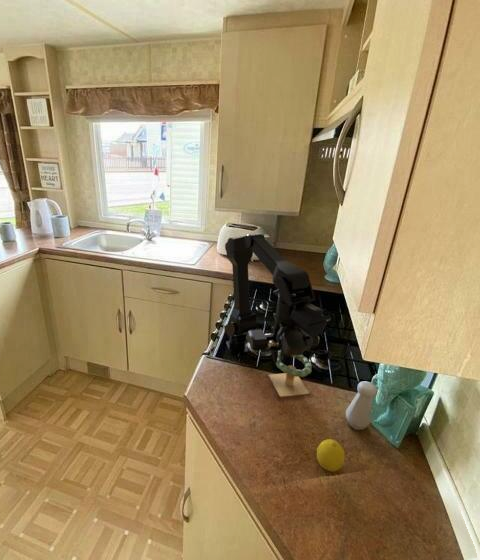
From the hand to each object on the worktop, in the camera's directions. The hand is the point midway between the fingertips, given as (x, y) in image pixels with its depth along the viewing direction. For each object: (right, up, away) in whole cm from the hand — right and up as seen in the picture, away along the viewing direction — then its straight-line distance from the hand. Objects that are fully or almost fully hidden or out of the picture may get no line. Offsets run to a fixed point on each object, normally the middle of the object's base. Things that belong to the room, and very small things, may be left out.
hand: (278, 362), depth 89 cm
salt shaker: (+18, -14, -7) cm, 24 cm away
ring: (+4, 0, +1) cm, 4 cm away
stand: (+4, -8, +5) cm, 11 cm away
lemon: (+6, -19, -18) cm, 27 cm away
